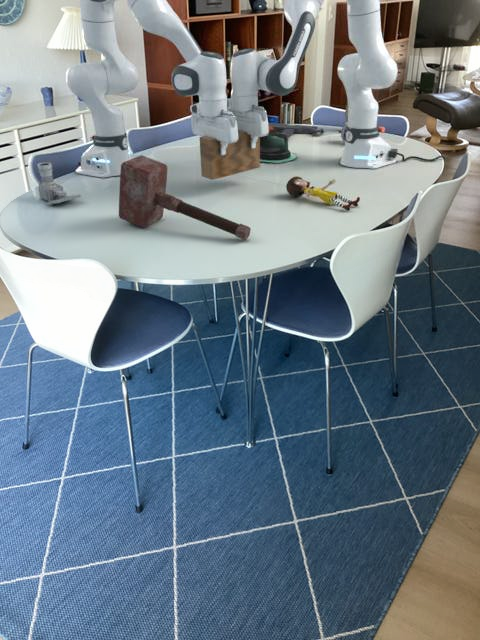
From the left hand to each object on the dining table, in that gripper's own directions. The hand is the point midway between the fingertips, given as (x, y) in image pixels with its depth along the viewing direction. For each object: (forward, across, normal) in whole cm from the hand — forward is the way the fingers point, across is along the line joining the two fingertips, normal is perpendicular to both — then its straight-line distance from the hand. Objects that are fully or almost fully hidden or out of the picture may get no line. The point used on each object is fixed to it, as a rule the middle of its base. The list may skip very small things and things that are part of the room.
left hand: (215, 152), depth 184 cm
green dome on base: (+14, +21, -46) cm, 52 cm away
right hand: (0, 0, -13) cm, 13 cm away
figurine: (+14, -32, -18) cm, 38 cm away
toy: (+14, +11, -88) cm, 90 cm away
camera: (+14, +30, +44) cm, 55 cm away
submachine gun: (+14, +45, -78) cm, 91 cm away
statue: (+14, +28, -108) cm, 113 cm away
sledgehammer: (+14, -21, +29) cm, 38 cm away
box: (+8, 0, -7) cm, 10 cm away
